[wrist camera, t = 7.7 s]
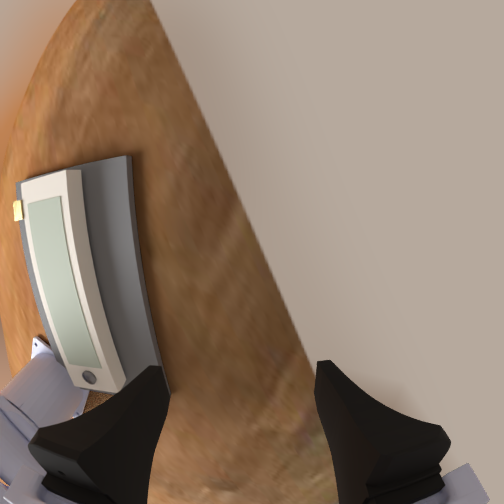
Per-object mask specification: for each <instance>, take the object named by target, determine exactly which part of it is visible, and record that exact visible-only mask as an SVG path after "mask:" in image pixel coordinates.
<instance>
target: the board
mask: <svg viewBox="0 0 504 504" xmlns="http://www.w3.org/2000/svg"><path fill="white" fill-rule="evenodd" d="M63 170H81V177H82V190H83V200H84V209H85V217H86V224H87V231H88V238H89V244H90V249H91V255H92V260H93V265H94V270H95V275H96V279H97V284H98V288H99V292H100V297H101V301H102V304H103V308H104V312H105V316H106V319H107V323H108V326H109V330H110V333H111V336H112V339H113V343H114V346H115V349H116V352H117V355H118V358H119V361H120V363H121V366H122V369H123V372H124V374H125V377H126V381H125V383H124V385H123V387H122V389H123V388H124V387H125V386H126V385H127V384H129V383H130V382H131V381H132V380H133V379H134V378H136V377H137V376H138V375H139V374H140V373H141V372H142V371H143V370H145V369H146V368H147V367H148V366H149V365H155V366H162V370H163V373H164V377H165V381H166V384H167V388H168V391H169V394H170V396H171V392H170V389H169V385H168V382H167V378H166V375H165V371H164V367H163V363H162V359H161V356H160V352H159V347H158V343H157V339H156V335H155V330H154V326H153V321H152V316H151V311H150V306H149V301H148V296H147V290H146V285H145V279H144V273H143V267H142V260H141V253H140V246H139V238H138V230H137V221H136V212H135V201H134V189H133V174H132V156H120V157H115V158H110V159H105V160H100V161H95V162H91V163H86V164H82V165H78V166H73V167H69V168H65V169H61V170H58V171H54V172H50V173H47V174H43V175H40V176H36V177H33V178H29V179H26V180H23V181H20V182H17V183H16V194H17V201H15V202H13V207H14V217H15V221H17V220H19V223H20V231H21V237H22V243H23V249H24V254H25V259H26V264H27V269H28V273H29V278H30V282H31V286H32V290H33V293H34V297H35V301H36V304H37V307H38V311H39V314H40V317H41V320H42V323H43V326H44V329H45V332H46V335H47V338H48V340H49V343H50V346H51V348H52V351H53V353H54V356H55V358H56V361H57V362H59V363H60V364H61V365H62V366H63V367H65V368H66V366H65V364H64V362H63V359H62V357H61V354H60V352H59V349H58V347H57V344H56V342H55V339H54V336H53V334H52V331H51V328H50V325H49V322H48V319H47V316H46V313H45V310H44V307H43V303H42V300H41V296H40V293H39V289H38V285H37V282H36V278H35V273H34V269H33V265H32V260H31V255H30V250H29V245H28V239H27V233H26V227H25V220H24V212H23V203H22V192H21V183H24V182H27V181H30V180H33V179H36V178H40V177H43V176H46V175H50V174H53V173H56V172H60V171H63ZM80 389H84V390H89V391H94V392H100V393H106V394H112V395H115V394H116V393H113V392H106V391H99V390H93V389H88V388H82V387H80Z"/></svg>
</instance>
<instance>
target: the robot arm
mask: <svg viewBox="0 0 504 504" xmlns="http://www.w3.org/2000/svg"><path fill="white" fill-rule="evenodd" d="M88 395H89V390H84V389H80V387H77V386H74V384H73V382H72V380H71V377H70V375H69V373H68V371H67V369H66V368H65V367H63V366H62V365H61V364H60V363H59V362H57V361H56V358H55V356H54V353H53V351H52V348H51V347H50V346H49V345H47V344H46V343H45V342H44V341H43V340H41V339H40V338H39V337H37V336H35V337H34V338H33V346H32V356H31V360H30V361H29V362H28V363H27V364H26V365H25V366H24V367H23V368H22V369H21V370H20V371H19V372H18V373H17V375H16V376H15V377H14V378H13V379H12V380H11V381H10V382H9V383H8V384H7V385H6V386H5V387H4V388H3V389H2V390H1V391H0V478H1V479H2V480H3V481H4V482H5V483H6V484H8V485H9V486H10V487H9V486H6V485H4V484H2V483H1V482H0V504H147V498H148V487H149V479H150V473H151V467H152V461H153V456H154V452H155V448H156V446H157V443H158V440H159V437H160V434H161V431H162V428H163V425H164V422H165V419H166V416H167V412H168V407H169V401H170V394H169V391H168V388H167V384H166V381H165V377H164V373H163V370H162V366H155V365H149V366H148V367H147V368H146V369H145V370H143V371H142V372H141V373H140V374H139V375H138V376H137V377H136V378H134V379H133V380H132V381H131V382H130V383H129V384H127V385H126V386H125V387H124V388H123V389H121V390H120V391H119V392H118V393H116V394H115V395H114V396H112V397H111V398H110V399H108V400H107V401H105V402H104V403H102V404H101V405H99V406H97V407H96V408H94V409H92V410H90V411H88V412H86V413H84V414H83V411H84V407H85V404H86V401H87V398H88ZM314 395H315V401H316V406H317V411H318V414H319V417H320V420H321V423H322V426H323V429H324V432H325V435H326V438H327V441H328V444H329V447H330V451H331V455H332V460H333V465H334V471H335V477H336V483H337V490H338V497H339V504H487V503H488V502H489V500H490V499H489V497H488V495H487V493H486V492H485V490H484V488H483V486H482V485H481V483H480V481H479V480H478V478H477V476H476V474H475V473H474V471H473V469H472V468H471V467H470V465H469V463H466V464H465V465H463V466H461V467H459V468H457V469H455V470H453V471H451V472H449V473H447V474H446V475H445V476H443V477H441V475H440V474H439V473H440V472H441V470H442V469H441V467H440V465H439V463H440V461H441V460H442V459H443V457H444V456H445V454H446V453H447V452H448V450H449V448H450V445H451V441H450V439H449V437H448V436H447V434H446V432H445V431H444V430H443V428H442V427H441V426H440V425H436V424H431V423H427V422H423V421H420V420H417V419H414V418H411V417H408V416H406V415H403V414H401V413H399V412H397V411H395V410H393V409H391V408H389V407H387V406H385V405H383V404H382V403H380V402H379V401H377V400H375V399H374V398H372V397H371V396H369V395H368V394H367V393H365V392H364V391H363V390H362V389H361V388H359V387H358V386H357V385H356V384H355V383H354V382H352V381H351V380H350V379H349V378H348V377H347V376H346V375H345V374H344V373H343V372H342V371H341V370H340V369H339V368H338V367H337V366H336V365H335V364H334V363H333V362H332V361H331V360H324V361H317V369H316V380H315V390H314ZM72 417H74V418H73V419H71V418H72Z"/></svg>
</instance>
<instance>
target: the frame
mask: <svg viewBox="0 0 504 504" xmlns="http://www.w3.org/2000/svg"><path fill="white" fill-rule="evenodd" d="M21 192H22V203H23V212H24V220H25V227H26V233H27V239H28V245H29V250H30V255H31V260H32V265H33V269H34V273H35V278H36V282H37V285H38V289H39V293H40V296H41V300H42V303H43V307H44V310H45V313H46V316H47V319H48V322H49V325H50V328H51V331H52V334H53V336H54V339H55V342H56V344H57V347H58V349H59V352H60V354H61V357H62V359H63V362H64V364H65V366H66V369H67V371H68V373H69V375H70V377H71V380H72V382H73V384H74V386H77V387H82V388H88V389H93V390H99V391H106V392H113V393H118V392H119V391H120V390H121V389H122V387H123V385H124V383H125V381H126V377H125V374H124V372H123V369H122V366H121V363H120V361H119V358H118V355H117V352H116V349H115V346H114V343H113V339H112V336H111V333H110V330H109V326H108V323H107V319H106V316H105V312H104V308H103V304H102V301H101V297H100V292H99V288H98V284H97V279H96V275H95V270H94V265H93V260H92V255H91V249H90V244H89V238H88V231H87V224H86V217H85V209H84V200H83V190H82V177H81V170H63V171H60V172H56V173H53V174H50V175H46V176H43V177H40V178H36V179H33V180H30V181H27V182H24V183H21Z"/></svg>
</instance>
